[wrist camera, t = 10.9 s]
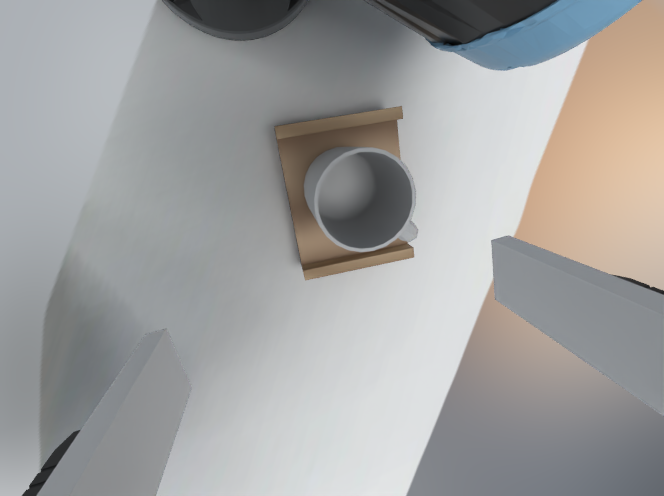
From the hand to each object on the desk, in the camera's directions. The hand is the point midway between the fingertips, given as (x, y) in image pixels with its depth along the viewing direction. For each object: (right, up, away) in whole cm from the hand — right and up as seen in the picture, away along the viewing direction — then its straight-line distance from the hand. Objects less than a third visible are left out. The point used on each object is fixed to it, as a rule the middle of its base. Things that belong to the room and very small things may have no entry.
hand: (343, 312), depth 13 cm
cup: (+2, +8, +19) cm, 20 cm away
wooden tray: (+1, +8, +21) cm, 23 cm away
